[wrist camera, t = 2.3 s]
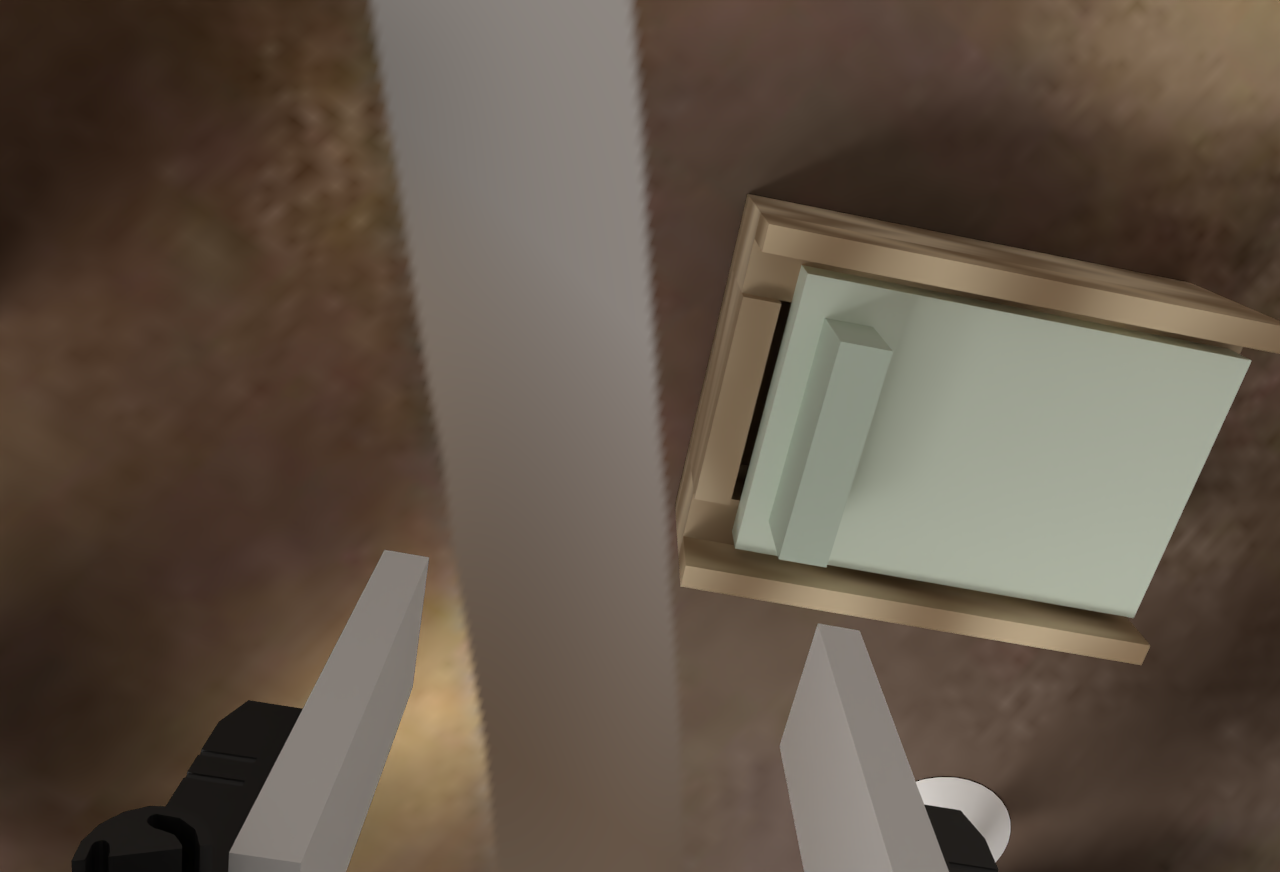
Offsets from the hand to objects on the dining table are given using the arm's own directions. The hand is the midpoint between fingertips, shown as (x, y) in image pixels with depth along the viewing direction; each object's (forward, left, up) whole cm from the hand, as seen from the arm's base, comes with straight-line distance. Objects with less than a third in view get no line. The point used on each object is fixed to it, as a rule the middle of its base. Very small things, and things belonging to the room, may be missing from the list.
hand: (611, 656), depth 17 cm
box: (+11, 0, -19) cm, 22 cm away
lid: (+12, 0, -15) cm, 19 cm away
